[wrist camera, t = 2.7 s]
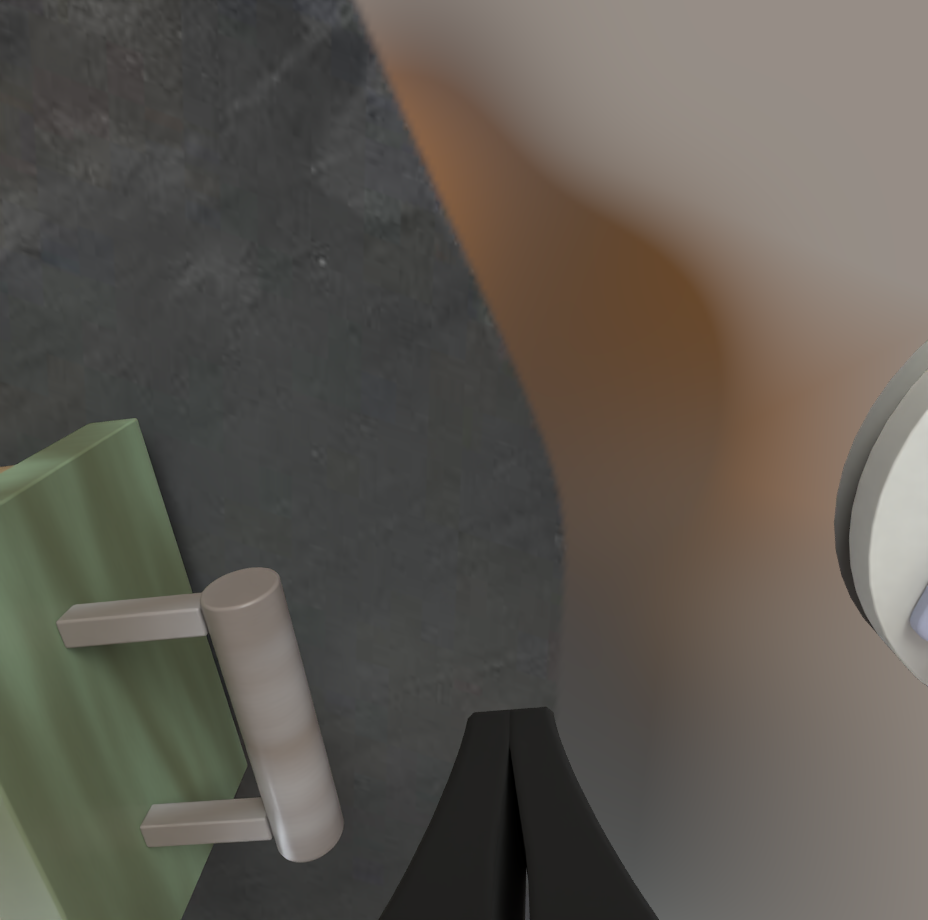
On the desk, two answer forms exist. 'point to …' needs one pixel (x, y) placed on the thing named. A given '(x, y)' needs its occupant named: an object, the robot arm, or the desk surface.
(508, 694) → the desk surface
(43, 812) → the drawer
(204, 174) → the desk surface
